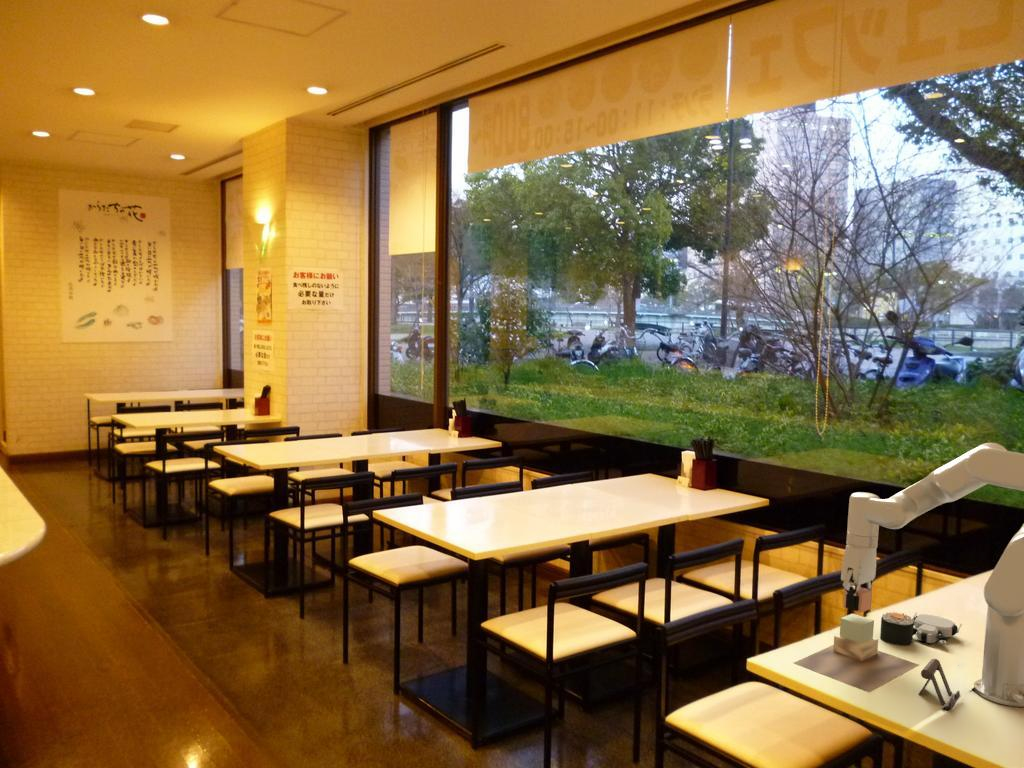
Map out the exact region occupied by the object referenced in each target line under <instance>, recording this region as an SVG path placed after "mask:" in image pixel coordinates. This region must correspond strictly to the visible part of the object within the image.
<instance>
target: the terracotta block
mask: <svg viewBox="0 0 1024 768" xmlns="http://www.w3.org/2000/svg"><path fill="white" fill-rule="evenodd" d="M851 587H853V588H854V590H855V586H853V585H851ZM857 596H859V605H858V611H856V612H858V613H864V612H867V611H869V610H871V609H872V597H873V590H872V589H871V590H869V589H865V588H862V587H859V591H858V595H857ZM842 606H843V607H842V608H845V609H847V608H846V590H845V588H844V591H843V605H842Z"/></svg>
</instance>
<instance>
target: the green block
mask: <svg viewBox="0 0 1024 768" xmlns="http://www.w3.org/2000/svg"><path fill="white" fill-rule="evenodd" d="M839 623H840V626H839V634H840V637H843V638H846V639H849V640H852V641H855V642H857V643H860V644H862V643H864V642H866V641H869V640H871V639H873V637H874V628H875V627H874V625H875V620H874V619H872V618H868V617H865V616H862V615H858V614H856V613H850V614H848V615H845V616H842V617H841V618H840V622H839Z"/></svg>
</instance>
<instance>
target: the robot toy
mask: <svg viewBox="0 0 1024 768" xmlns="http://www.w3.org/2000/svg"><path fill="white" fill-rule="evenodd" d="M912 618H913V619H914V626H913V636H914V635H916V638H917V640H918V641H920V642H925V643H928V644H934V643H936V642H938V643H939V644H940V645H947V643H948V642H947V639H946V638H951V637H952V636H953V637H954V636H955V635H957V634H959V632H960V629H961V627H962V625H963V624H962V623H960V624H959V627H958V626H957V625H956V623H955V621H954V622H953V620H950V619H948V618H944V617H941V616H938V615H934V614H933V615H932V614H926V613H923V614H918V612H915V613H914V615H913V616H912ZM945 637H946V638H945Z"/></svg>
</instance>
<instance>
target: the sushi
mask: <svg viewBox="0 0 1024 768" xmlns="http://www.w3.org/2000/svg"><path fill="white" fill-rule="evenodd" d="M914 627H915V626H914V619H913V617H912V616H910V615H907V614H905V613H899V612H896V611H893V612H886V613H884V614H882V616H881V621H880V633H879V634H880V636H879V638H880V640H881V641H883V642H884V643H888V644H893V645H895V646H899V647H900V646H901V647H908V646H911V645H912V644H913V640H914V639H913V638H914V637H913V636H914V635H913V628H914Z"/></svg>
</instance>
